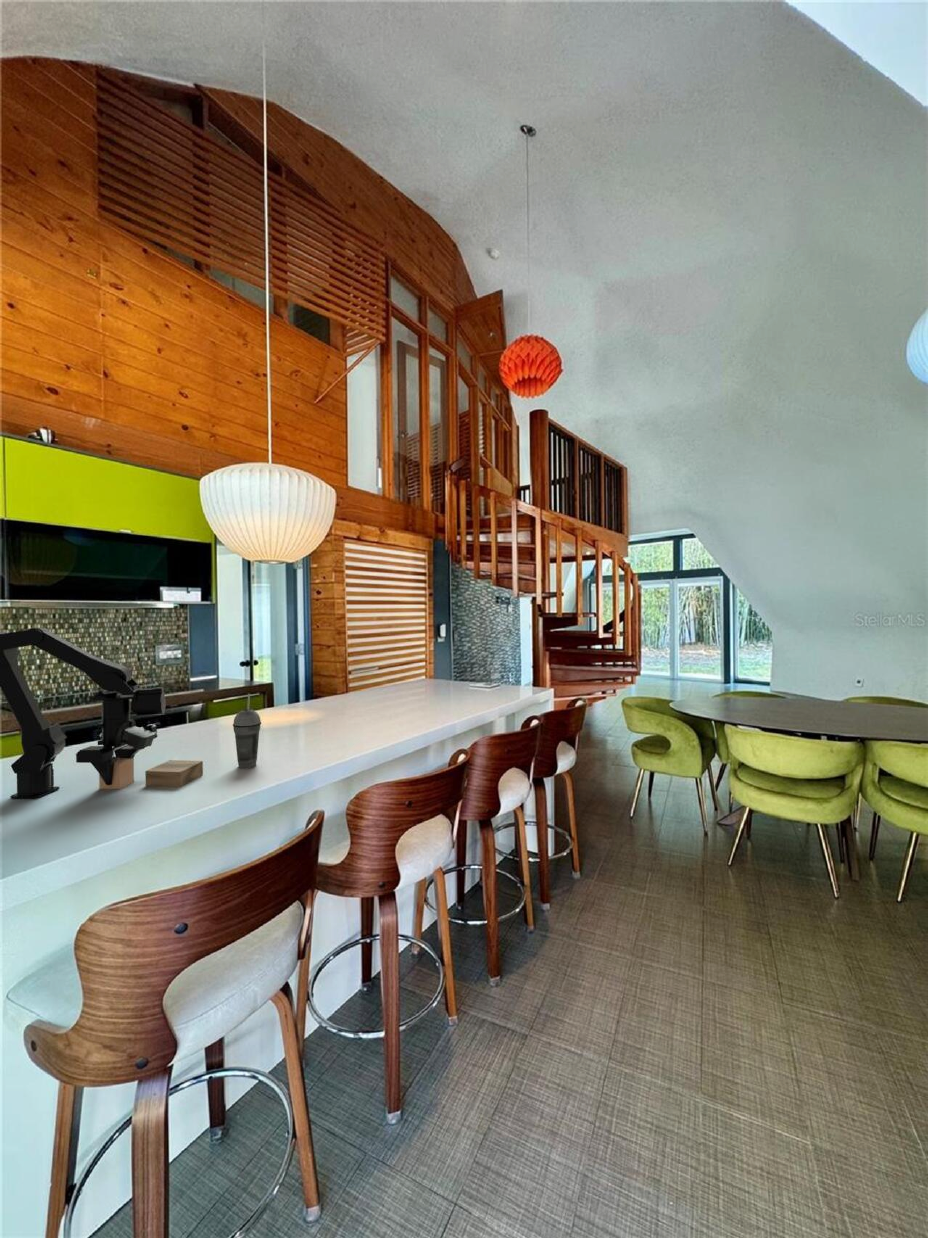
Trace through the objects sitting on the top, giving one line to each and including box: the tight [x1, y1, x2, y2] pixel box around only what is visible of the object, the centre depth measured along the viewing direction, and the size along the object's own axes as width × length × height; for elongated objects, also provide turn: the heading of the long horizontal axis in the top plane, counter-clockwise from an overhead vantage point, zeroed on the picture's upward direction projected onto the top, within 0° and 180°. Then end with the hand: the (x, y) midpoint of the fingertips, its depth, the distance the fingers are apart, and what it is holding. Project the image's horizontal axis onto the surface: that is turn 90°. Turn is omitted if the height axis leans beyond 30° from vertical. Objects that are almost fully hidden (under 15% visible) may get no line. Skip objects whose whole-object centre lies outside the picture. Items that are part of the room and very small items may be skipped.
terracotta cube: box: [98, 757, 135, 790], centre depth 125 cm, size 5×5×6 cm
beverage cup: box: [232, 693, 262, 769], centre depth 140 cm, size 7×7×20 cm
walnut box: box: [144, 759, 204, 788], centre depth 128 cm, size 9×9×4 cm
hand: (116, 781), depth 125 cm, fingers closed on terracotta cube, 5 cm apart
